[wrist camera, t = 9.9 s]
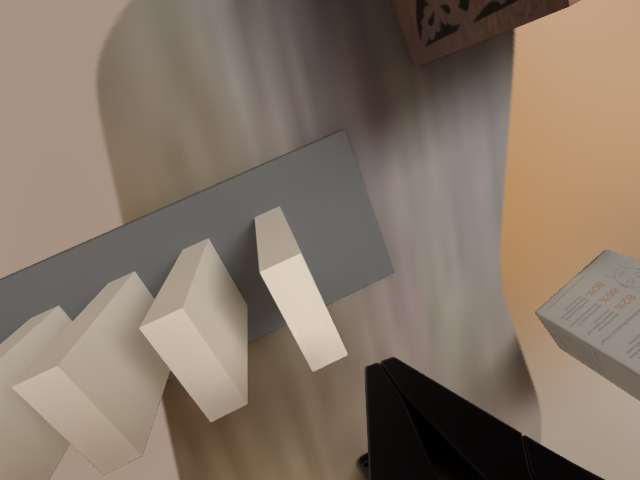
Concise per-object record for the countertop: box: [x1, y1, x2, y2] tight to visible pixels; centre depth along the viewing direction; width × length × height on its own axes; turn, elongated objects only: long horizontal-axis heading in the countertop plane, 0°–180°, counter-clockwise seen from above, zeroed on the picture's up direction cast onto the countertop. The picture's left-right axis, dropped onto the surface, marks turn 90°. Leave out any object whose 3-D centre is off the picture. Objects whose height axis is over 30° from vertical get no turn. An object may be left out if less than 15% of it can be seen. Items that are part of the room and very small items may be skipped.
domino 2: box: [12, 271, 170, 475], centre depth 15 cm, size 2×5×8 cm, turn 22°
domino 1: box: [0, 306, 73, 480], centre depth 15 cm, size 2×5×8 cm, turn 22°
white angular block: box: [255, 206, 348, 372], centre depth 16 cm, size 2×5×8 cm, turn 22°
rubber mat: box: [0, 129, 394, 381], centre depth 20 cm, size 10×26×1 cm, turn 112°
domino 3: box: [139, 238, 248, 422], centre depth 16 cm, size 2×5×8 cm, turn 22°
